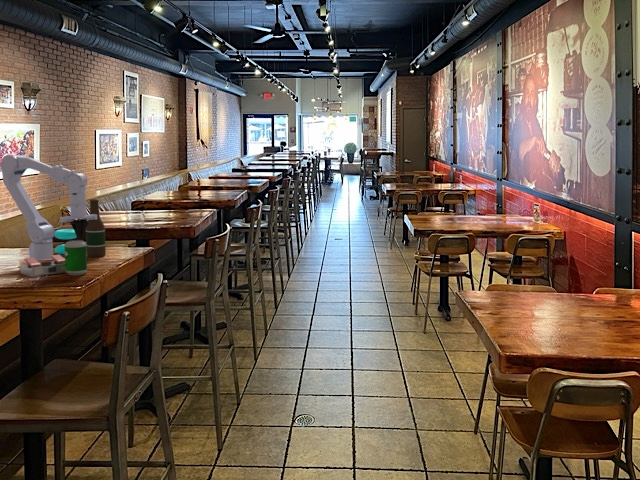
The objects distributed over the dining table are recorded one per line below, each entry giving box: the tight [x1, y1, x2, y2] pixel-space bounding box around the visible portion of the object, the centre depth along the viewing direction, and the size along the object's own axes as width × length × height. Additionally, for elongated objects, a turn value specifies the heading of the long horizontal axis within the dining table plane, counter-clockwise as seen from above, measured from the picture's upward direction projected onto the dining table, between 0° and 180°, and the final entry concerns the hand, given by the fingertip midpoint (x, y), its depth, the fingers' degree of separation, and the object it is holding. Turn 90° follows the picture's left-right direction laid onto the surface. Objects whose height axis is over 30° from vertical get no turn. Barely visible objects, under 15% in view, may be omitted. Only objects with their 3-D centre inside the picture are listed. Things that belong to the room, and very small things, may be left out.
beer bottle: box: [85, 198, 107, 258], centre depth 277 cm, size 8×8×24 cm
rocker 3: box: [51, 254, 65, 263], centre depth 246 cm, size 6×3×1 cm, turn 50°
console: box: [19, 260, 66, 278], centre depth 242 cm, size 9×15×4 cm, turn 139°
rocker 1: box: [24, 257, 41, 267], centre depth 238 cm, size 6×3×1 cm, turn 50°
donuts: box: [54, 228, 77, 255], centre depth 284 cm, size 10×10×10 cm
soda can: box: [64, 239, 88, 276], centre depth 240 cm, size 8×8×12 cm
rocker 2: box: [38, 259, 55, 262], centre depth 242 cm, size 6×3×1 cm, turn 49°
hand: (80, 239), depth 255 cm, fingers closed
